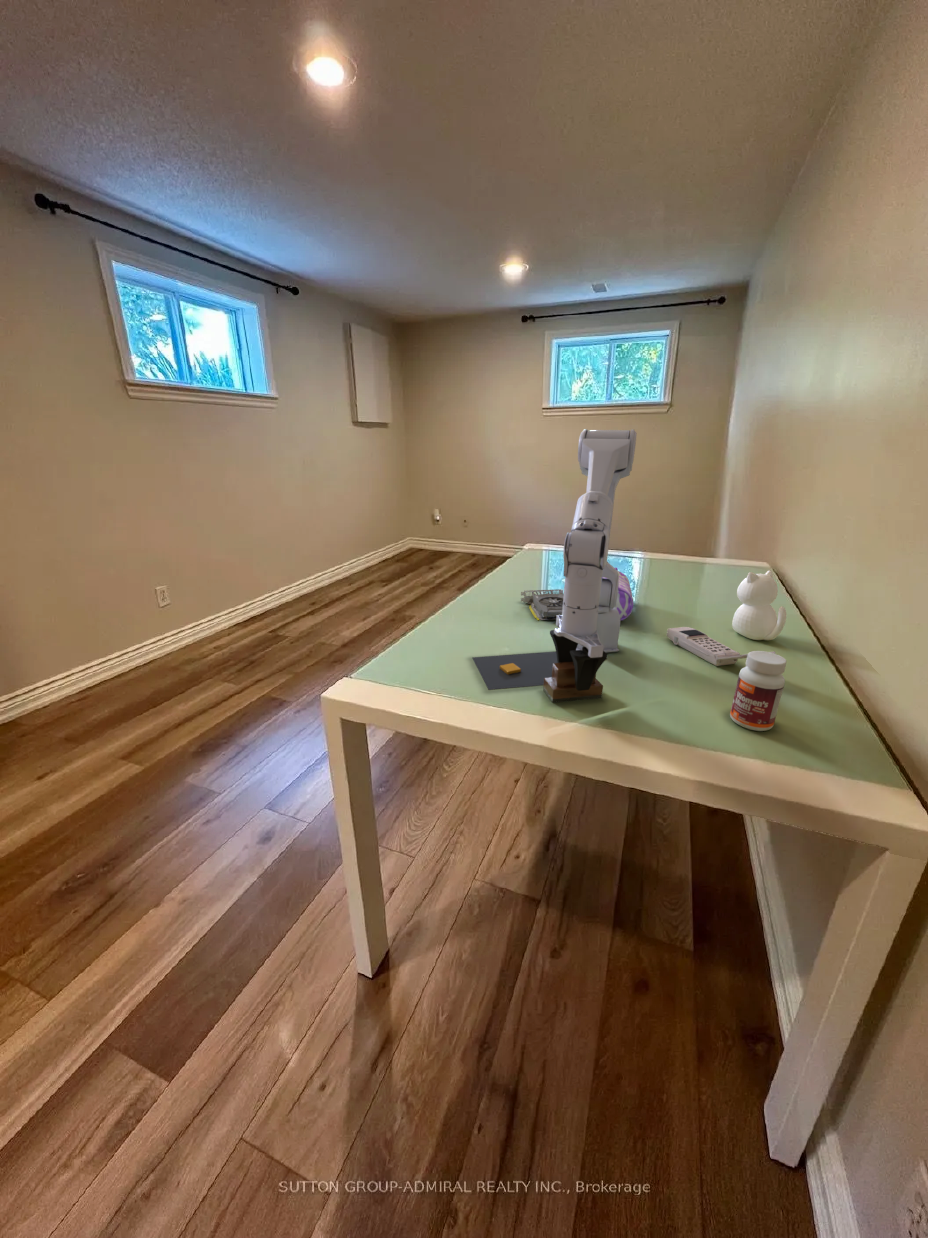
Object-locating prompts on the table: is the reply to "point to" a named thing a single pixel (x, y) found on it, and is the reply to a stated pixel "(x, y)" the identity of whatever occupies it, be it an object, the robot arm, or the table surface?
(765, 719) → the pill bottle
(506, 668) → the mustard square tile
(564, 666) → the brown stepped block
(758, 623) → the cat figurine
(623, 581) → the pencil case
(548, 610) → the graphics card
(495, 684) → the mat
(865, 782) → the table surface
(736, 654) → the mobile phone
